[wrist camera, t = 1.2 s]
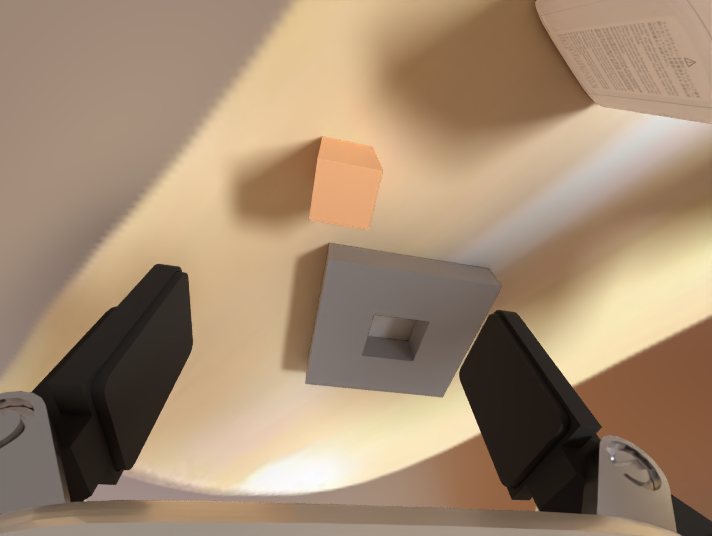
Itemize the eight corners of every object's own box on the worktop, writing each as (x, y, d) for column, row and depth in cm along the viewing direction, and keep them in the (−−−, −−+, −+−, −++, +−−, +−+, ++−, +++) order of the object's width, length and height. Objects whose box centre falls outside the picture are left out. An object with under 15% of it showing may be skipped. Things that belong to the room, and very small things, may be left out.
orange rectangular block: (372, 146, 26) (383, 171, 20) (362, 195, 28) (368, 230, 22) (322, 136, 25) (317, 158, 19) (315, 186, 27) (308, 219, 21)
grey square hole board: (489, 268, 32) (501, 286, 30) (436, 376, 40) (442, 397, 38) (329, 242, 30) (328, 259, 27) (307, 362, 38) (305, 383, 35)
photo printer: (650, 66, 24) (901, 65, 13) (594, 115, 25) (778, 150, 15) (580, -66, 20) (858, -218, 9) (520, 2, 21) (697, -61, 11)
